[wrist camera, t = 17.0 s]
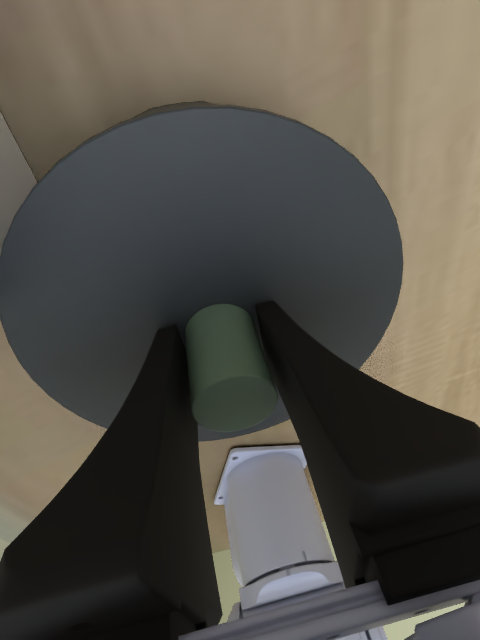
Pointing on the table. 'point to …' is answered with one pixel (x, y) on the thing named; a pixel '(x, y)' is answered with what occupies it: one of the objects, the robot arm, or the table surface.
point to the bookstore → (12, 179)
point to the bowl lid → (196, 260)
